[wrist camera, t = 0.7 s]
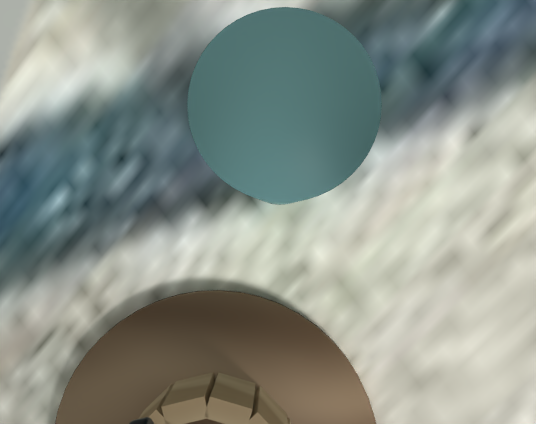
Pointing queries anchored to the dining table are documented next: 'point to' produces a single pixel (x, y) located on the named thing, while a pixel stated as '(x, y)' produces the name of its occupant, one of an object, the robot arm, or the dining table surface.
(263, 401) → the walnut stand
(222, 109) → the teal peg
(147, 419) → the robot arm
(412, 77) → the dining table surface
